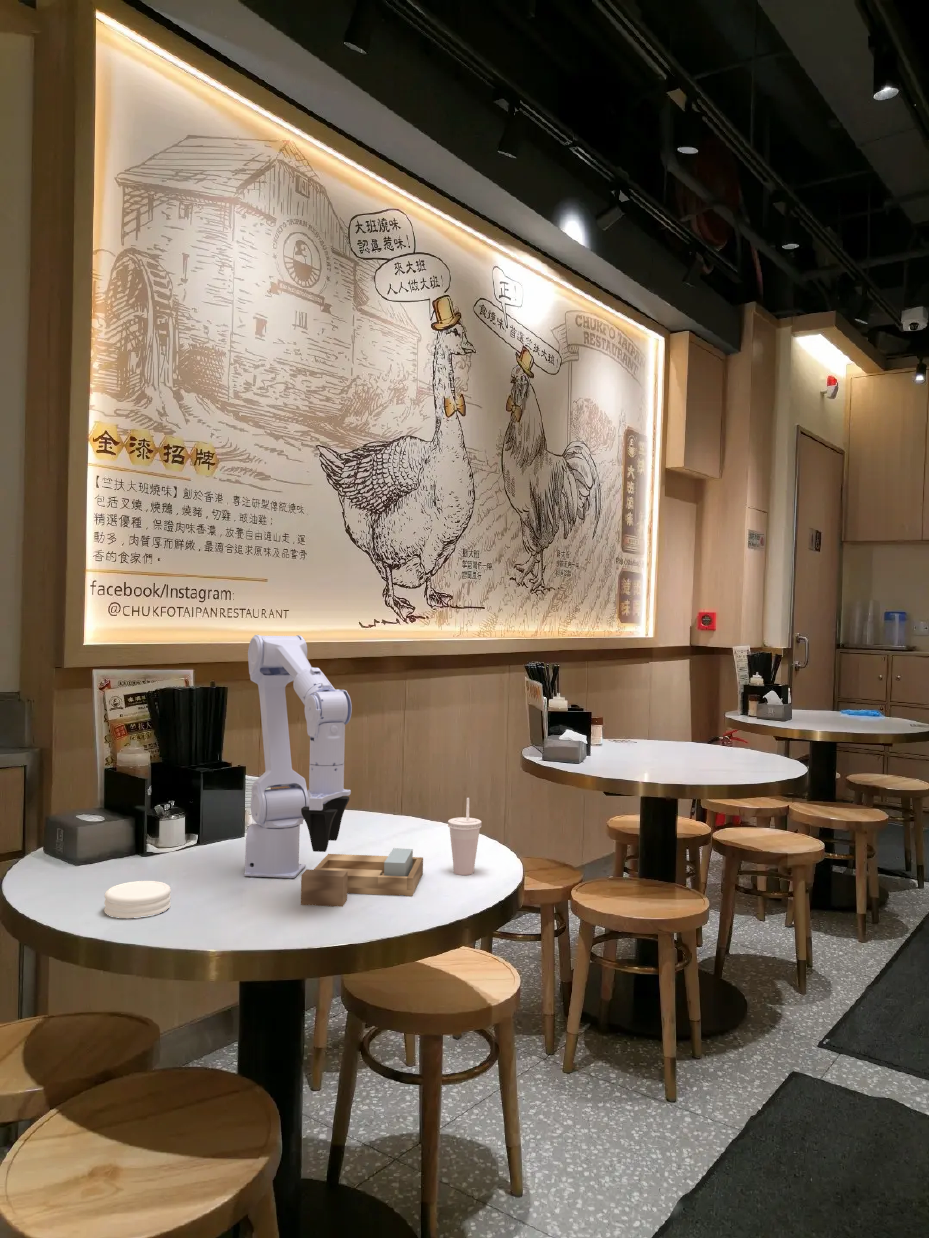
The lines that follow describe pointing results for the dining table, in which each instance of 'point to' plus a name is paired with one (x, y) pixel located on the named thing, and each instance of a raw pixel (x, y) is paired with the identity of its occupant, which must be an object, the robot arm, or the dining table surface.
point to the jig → (373, 874)
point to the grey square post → (398, 862)
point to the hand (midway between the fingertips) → (325, 845)
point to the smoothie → (464, 842)
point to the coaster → (137, 899)
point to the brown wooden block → (324, 888)
